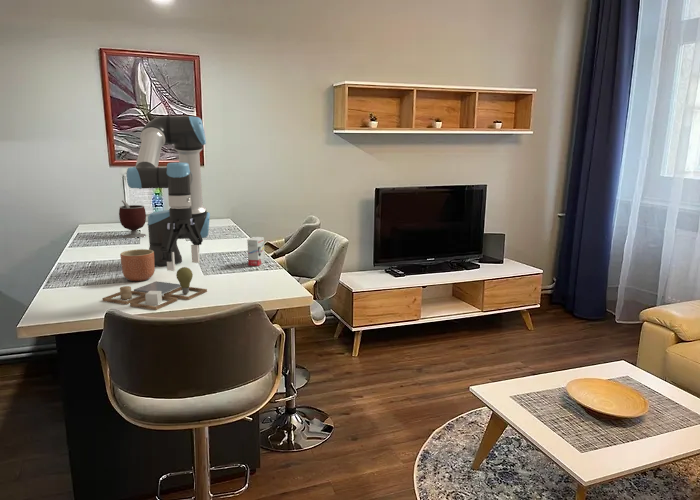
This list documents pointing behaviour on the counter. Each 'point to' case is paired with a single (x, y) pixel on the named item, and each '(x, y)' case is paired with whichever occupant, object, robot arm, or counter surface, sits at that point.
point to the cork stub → (125, 292)
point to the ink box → (256, 251)
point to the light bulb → (184, 278)
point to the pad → (158, 287)
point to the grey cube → (153, 297)
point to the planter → (137, 264)
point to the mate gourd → (132, 219)
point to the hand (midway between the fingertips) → (183, 266)
